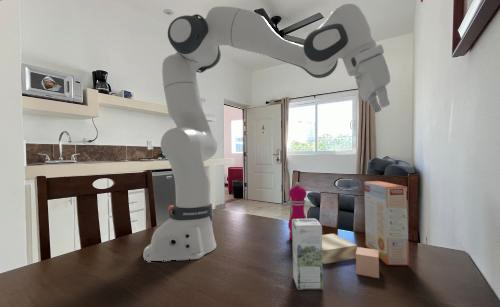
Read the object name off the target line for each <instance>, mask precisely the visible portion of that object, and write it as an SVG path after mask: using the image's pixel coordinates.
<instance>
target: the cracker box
mask: <svg viewBox="0 0 500 307" xmlns="http://www.w3.org/2000/svg"><path fill="white" fill-rule="evenodd" d="M363 182H364V184H363V185H364V224H365V226H364V227H365V233H364V234H365V247H366V248H368V249H375V250H378V251H379V259H380V260H381V261H382V262H383V263H384V264H385V265H386V266H409V265H410V261H409V224H408V223H409V220H408V219H409V216H408V214H409V212H408V187H407V186H404V185H399V184H395V183H392V182H391V183H390V182H387V181H381V180H374V181H373V180H372V181H371V180H370V181H369V180H367V181H363Z"/></svg>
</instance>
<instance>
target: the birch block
mask: <svg viewBox="0 0 500 307" xmlns="http://www.w3.org/2000/svg"><path fill="white" fill-rule="evenodd" d="M357 247H358V244H356V243H354V242H352V241H349V240H348V239H347V238H344V237H342V236H339V235H337V234H336V233H327V234H322V264H331V263H337V262H341V261H347V260H354V259H356V250H357Z"/></svg>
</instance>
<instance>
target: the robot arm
mask: <svg viewBox="0 0 500 307" xmlns="http://www.w3.org/2000/svg"><path fill="white" fill-rule="evenodd" d="M167 39H168V41H169V43H170V45H171V46H172V48H173V49H174V50H175V53H174V54H170V55H168V56H167V57H165V58H164V59H163V61H162V69H161V70H162V73H161V74H162V85H163V92H164V96H165V103H166V106H167V112H168V115H169V116H170V118H171V119H172V120H173V122H174V124H175V125H176V127H173V128H170V129H169V130H166V131H165V132H164V134H163V135H162V137H161V140H160V150H161V152H162V154H163V156H164V157H165V158H166V160H167V161H168V162H169V164H170V168H171V171H172V175H173V178H174V185H175V186H174V187H175V188H174V190H175V205H169V206H168V207H167V208H168V209H167V210H168V213H169V218H168V219H167V220H166V221H165V222H164V223H162V224H161V225H159V226H158V227H157V229H155V231H154V232H153V234H152V236H151V241H150V244H148V245H147V246H146V247H145V248H144V249H143V254H142V259H143V258H144V259H143V260H144V261H145V260H146V261H147V262H146V261H145V262H146V263H152V262H151V261H162V262H172V261H171V260H176V261H188V260H189V259H190V260H199V259H201V258H203V257H204V255H206V254H208V253H210V252H213V251H215V249H216V248H217V242H216V239H215V234H214V229H213V223H212V221H213V217H214V216H213V204H212V203H211V180H210V177H209V176H208V174H207V171H206V167H205V163H204V162H206V161H208V160H210V159H211V158H212V157H214V156H215V155H216V153H217V150H218V143H217V140H216V139H215V138H216V137H214V136H213V133H212V130H211V128H210V124H209V123H208V120H207V116H206V115H205V112H204V108H203V104H202V101H201V100H202V98H201V95H200V90H199V84H198V79H197V73H200V74H201V73H204V72H205V71H207V70H210V69H212V68H214V67H216V65H218V63H220V60H221V49H220V46H229V47H230V48H231V47H232V48H234V49H239V50H243V51H246V52H250V53H256V54H259V55H263V56H266V57H270V58H273V59H276V60H279V61H281V62H284V63H286V64H290V65H293V66H297V67H298V68H301V69H302V70H303V71H305V72H306V73H307V74H308V75H310V76H311V77H313V78H316V79H322V78H323V79H324V78H327V77H329V76H330V75H332V74H333V73H334V71H335V70H336V69H337V67H338V63H339V59H342V61H343V64H344V66H345V69H346V72H347V73H348V76H350V77H354V79H355V82H356V83H355V84H356V87H357V90H358V92H359V95H360V98H361V100H362V101H363V102H364V103H365V102H368V104H369V105H370V107H371V109H372V112H373V113H375V114H377V113H379V112H381V110H382V108H386V107H388V106H389V105H390V103H391V102H390V101H389V98H388V90H387V85H388V84H390V83H391V74H390V70H389V68H388V63H387V61H386V58H385V57H384V52H385V50H384V47H383V45H382V44H378V45H377V42H376V41H375V40H374V39H373V36H372V33H371V28H370V25H369V23H368V21H367V18H366V17H365V15H364V13H363V11H362V10H361V8H360V7H359V6H358V5H356V4H354V3H347V4H346V3H345V4H342V5H340V6H338V7H336V8H335V9H333V10H332V11H331V13H330V14H329V16H328V17H327V19H326V20H325V21H324V22H323V23H322V24H321V25H320V26H319V27H318V28H316V29H315V30H312V31H311V32H309V34H308V35H307V36H306V38H305V40H304V43H303V45H302V44H298V43H295V42H293V41H290V40H286V39H284V38H283V37H281V36H280V35H279V34H278V33H277V32H276V31H275V30H274V28H272V26H271V25H270V24H269V22H268V21H267V19H266V18H265V17H264V16H262V15H260V13H257V12H254V11H252V10H249V9H245V8H241V7H234V6H214V7H212V8H211V9H210V10H209V11H208V12H207V15H206V16H205V18H204V17H203V16H202V15H200V14H196V13H195V14H193V15H190V14H189V15H188V14H187V15H181V16H178V17H176V18H175V19H173V20H172V21H171V22H170V24H169V25H168V29H167ZM377 98H378V100H377ZM163 260H164V261H163Z"/></svg>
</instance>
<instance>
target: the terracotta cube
mask: <svg viewBox="0 0 500 307" xmlns="http://www.w3.org/2000/svg"><path fill="white" fill-rule="evenodd" d="M379 259H380V258H379V251H378V250H375V249H368V248H367V247H366V248H365V247H361V246H360V247H358V246H357V250H356V258H355V271H356V272H355V273H356V275H360V276H365V277H370V278H375V279H376V278H377V279H380V263H379V262H380V260H379Z"/></svg>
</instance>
